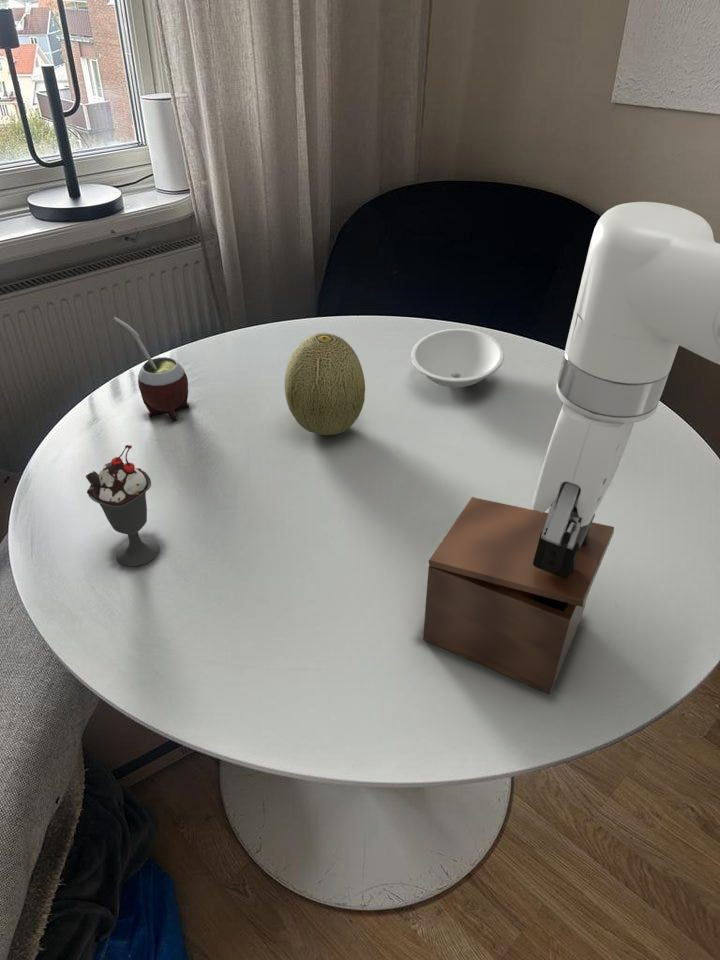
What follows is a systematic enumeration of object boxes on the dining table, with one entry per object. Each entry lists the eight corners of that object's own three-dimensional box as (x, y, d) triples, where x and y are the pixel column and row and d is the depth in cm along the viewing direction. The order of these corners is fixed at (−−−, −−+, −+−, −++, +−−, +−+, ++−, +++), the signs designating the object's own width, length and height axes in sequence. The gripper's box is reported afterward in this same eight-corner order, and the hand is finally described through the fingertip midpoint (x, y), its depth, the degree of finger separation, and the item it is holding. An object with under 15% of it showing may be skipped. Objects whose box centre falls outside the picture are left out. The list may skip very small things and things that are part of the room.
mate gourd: (198, 416, 107) (182, 325, 97) (146, 430, 104) (124, 338, 95) (184, 393, 112) (167, 305, 103) (134, 406, 109) (112, 316, 100)
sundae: (178, 545, 85) (155, 443, 75) (137, 579, 80) (107, 476, 71) (139, 525, 88) (112, 425, 78) (97, 558, 83) (63, 455, 74)
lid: (613, 533, 67) (617, 492, 64) (582, 607, 60) (585, 564, 57) (472, 502, 74) (470, 464, 71) (428, 566, 67) (424, 526, 64)
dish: (488, 416, 106) (492, 388, 103) (397, 400, 110) (398, 372, 107) (509, 362, 119) (512, 335, 116) (426, 349, 123) (428, 322, 120)
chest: (580, 620, 75) (601, 547, 69) (549, 694, 68) (570, 621, 61) (462, 575, 81) (471, 503, 74) (422, 639, 73) (428, 566, 67)
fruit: (311, 460, 98) (305, 364, 89) (275, 422, 105) (266, 330, 96) (379, 435, 103) (381, 342, 93) (340, 400, 110) (338, 311, 101)
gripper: (591, 322, 60) (549, 485, 72) (524, 419, 48) (487, 595, 60) (683, 345, 57) (623, 511, 69) (635, 454, 46) (573, 631, 57)
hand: (560, 548), depth 64 cm, fingers closed on lid, 5 cm apart
